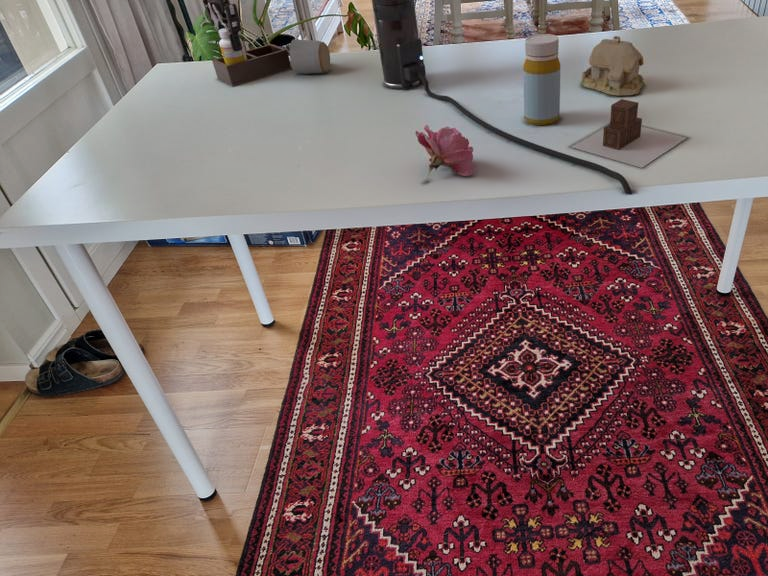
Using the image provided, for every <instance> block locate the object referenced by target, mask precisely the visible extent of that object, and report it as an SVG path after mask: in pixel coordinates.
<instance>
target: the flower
mask: <svg viewBox="0 0 768 576" xmlns="http://www.w3.org/2000/svg"><path fill="white" fill-rule="evenodd" d="M423 130H425V132H426V133H427V134H426V133H424V132H422V131H418V130H415V132H414V133H415V136H416V138H417V142H418V143H419V144H420V146H422V147H423V148H424V149H425V151H426V153H427V154H428V155H429V156H430V158H428V161H429V162H430V163H429V165H428V169H429V171H428V175H427V177H426V178H425V181H424V182H425V183H426V182H427V180H428V179H429V176H430V173H431V171H432V170H433V169H435V170H434V171H435V172H436V171H437V169H439V167H440V166H443V167H451V169H452V170H453V171H454V172H455V173H456V174H458V175H460V176H462V177H468V176H471V175H473V172H474V162H473V160H474V153H473V152H474V147H473V146H469V145H470V140H469V139H468V138H466V136H463V134H462V133H461V132H460V131H459V130H458V129H457V128H456V127H454V128H451V127H450V126H445V127H441V128H439V130H438V131H433V130H431V129H430V128H429V125H428V124H426V125H424V127H423Z"/></svg>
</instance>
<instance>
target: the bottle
mask: <svg viewBox="0 0 768 576" xmlns="http://www.w3.org/2000/svg"><path fill="white" fill-rule="evenodd" d="M559 40H560V39H559V36H557V35H555V34H551V33H538V34H532V35H529V36H527V37H525V40H524V51H525V53H524V54H525V60H524V62H523V66H522V67H523V70H522V72H523V73H522V74H523V117H524V120H525V121H526V122H527V124H528V123H529V124H530V125H534V126H548V125H552V124H553V123H556V122H557V121H558V119H559V118H560V111H561V109H560V108H561V61H560V59H559V48H560V47H559V46H560V45H559V43H560V41H559Z"/></svg>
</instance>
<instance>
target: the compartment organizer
mask: <svg viewBox="0 0 768 576" xmlns="http://www.w3.org/2000/svg"><path fill="white" fill-rule="evenodd" d="M245 53H246V57H247V60H245V61H242V62H238V63H235V64H231V65H226V64H225V61H224V58H223V56H221V57H218V58H214V59H211V62H212V65H213V68H214V71H215V74H216V77H217V80H218V81H221V82H223V83H225V84H227V85H229V86H231V87H235V86H238V85H242V84H246V83H248V82H251V81H255V80H259V79H262V78H265V77H269V76H272V75H275V74H279V73H282V72H285V71H289V70H293V68H292V65H291V60H290V55H289V52H288V49H286V48H283V47H281V46H278V45H275V44H272V43H268V44H266V45H261V46H258V47H255V48H251V49H247V50H245Z"/></svg>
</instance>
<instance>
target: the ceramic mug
mask: <svg viewBox="0 0 768 576" xmlns="http://www.w3.org/2000/svg"><path fill="white" fill-rule="evenodd" d="M289 60H290V64H291V67H292V70H293V71H294V73H296V74H301V75H302V74H305V75H306V74H324V73H327V72H328V71H329V69H330V67H331V54H330V49H329V46H328V45H327V43H326V42H325V41H322V40H311V39H310V40H309V39H297V38H293V39H292V40H291V42H290V45H289Z"/></svg>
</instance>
